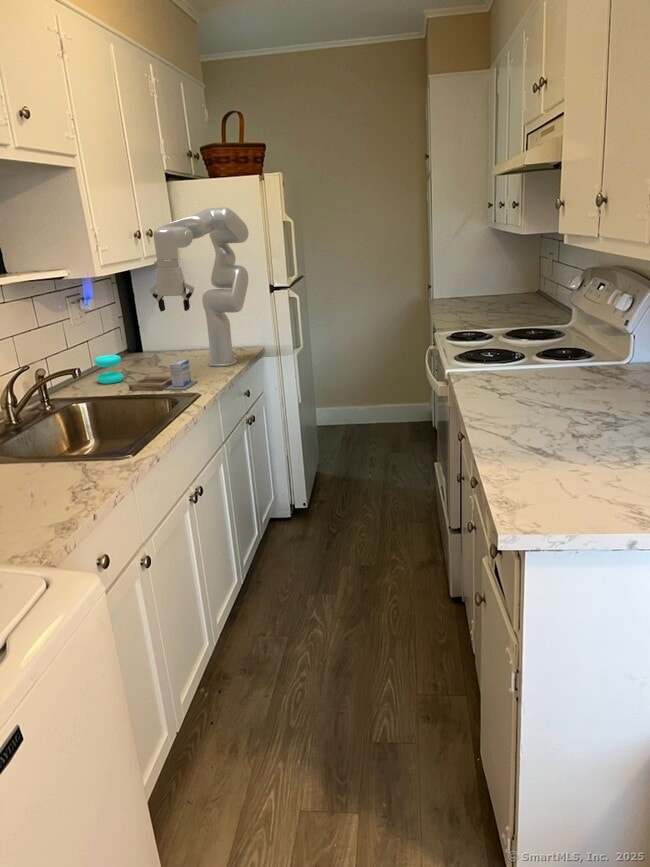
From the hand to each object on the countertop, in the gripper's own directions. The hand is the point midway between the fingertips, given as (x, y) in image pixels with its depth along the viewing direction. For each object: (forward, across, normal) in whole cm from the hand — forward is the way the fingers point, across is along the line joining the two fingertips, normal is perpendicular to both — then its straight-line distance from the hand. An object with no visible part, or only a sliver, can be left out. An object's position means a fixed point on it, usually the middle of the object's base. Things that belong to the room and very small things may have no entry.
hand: (174, 310), depth 245 cm
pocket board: (+27, -9, -10) cm, 30 cm away
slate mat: (+27, +3, -10) cm, 29 cm away
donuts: (+27, -30, -3) cm, 41 cm away
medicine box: (+26, +3, -9) cm, 28 cm away
